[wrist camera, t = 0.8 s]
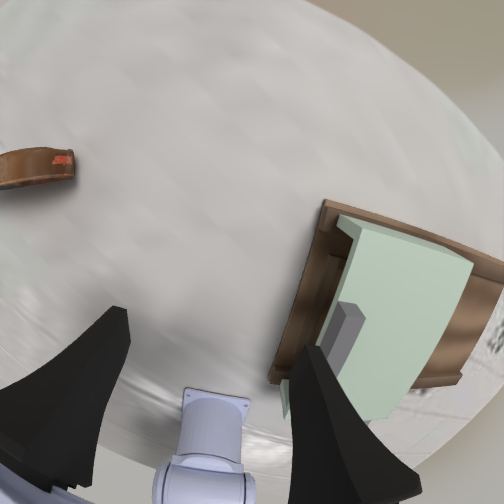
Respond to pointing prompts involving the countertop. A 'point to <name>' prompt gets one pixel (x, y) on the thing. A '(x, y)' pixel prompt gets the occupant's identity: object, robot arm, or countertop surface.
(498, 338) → the countertop surface
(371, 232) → the cover
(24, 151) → the tin
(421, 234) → the puzzle board
